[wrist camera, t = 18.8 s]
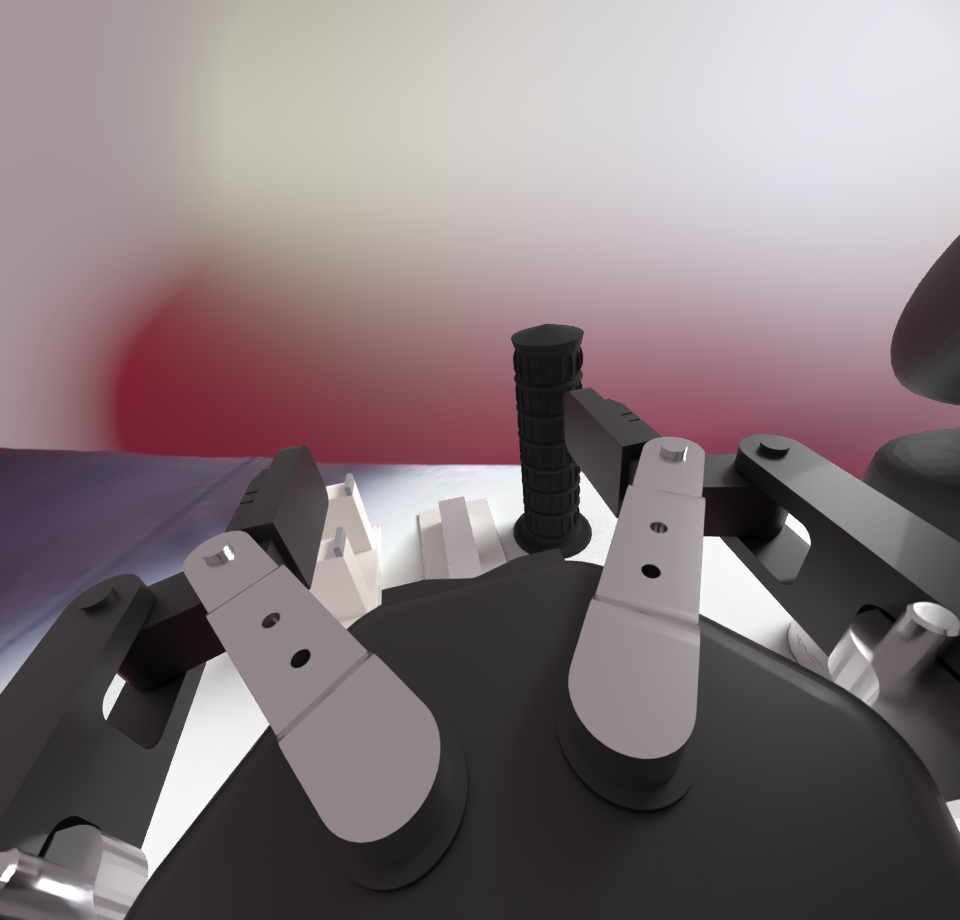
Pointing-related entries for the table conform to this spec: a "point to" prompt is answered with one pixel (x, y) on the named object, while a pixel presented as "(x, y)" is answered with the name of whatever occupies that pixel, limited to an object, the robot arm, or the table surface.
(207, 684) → the table surface
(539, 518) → the handle grip
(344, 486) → the rack
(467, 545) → the rail
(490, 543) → the mat
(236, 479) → the table surface
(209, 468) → the table surface
